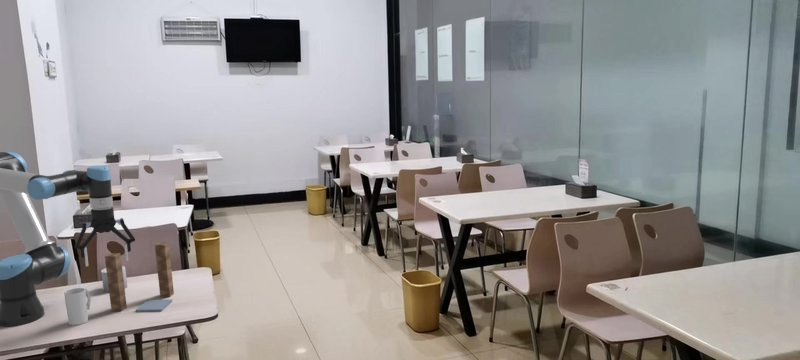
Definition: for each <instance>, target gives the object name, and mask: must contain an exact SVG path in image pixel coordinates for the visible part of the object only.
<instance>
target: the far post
mask: <svg viewBox="0 0 800 360" xmlns="http://www.w3.org/2000/svg"><path fill="white" fill-rule="evenodd" d="M154 251H155V252H154V253H155V260H156V271H157V278H158V279H157V280H158V286H159V287H158V288H159V298H170V297H172V296H173V295H174V294H175V290H174V281H173V271H172V261H171V252H170V243H169V242H166V241H165V242H163V241H162V242H160V241H159V242H158V243H156V244H155V245H154Z"/></svg>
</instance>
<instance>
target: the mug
mask: <svg viewBox="0 0 800 360" xmlns="http://www.w3.org/2000/svg"><path fill="white" fill-rule="evenodd" d="M63 294H64V301H65V302H64V303H65V307H66V312H67V313H66V314H67V320H68V325H70V326H80V325H83V324H86V323H87V322H88V321H89V315H88V311H89V310H90V307H91V293H89V291H88V289H87V288H83V287H74V288H70V289H67V290H66V291H64V293H63Z"/></svg>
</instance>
